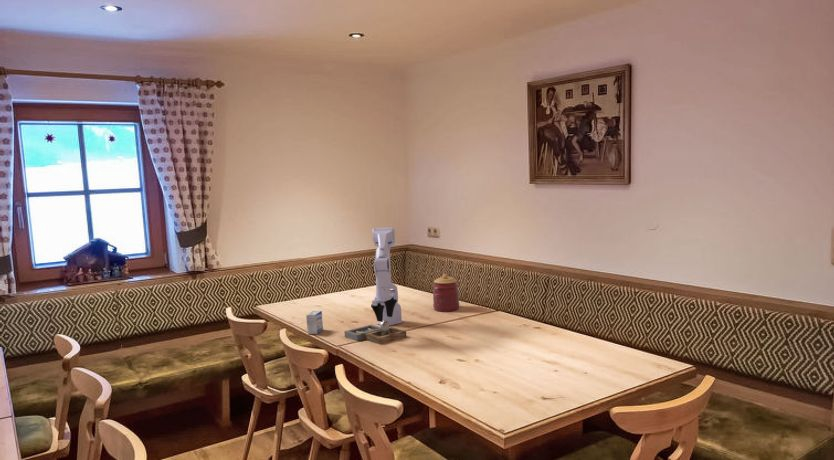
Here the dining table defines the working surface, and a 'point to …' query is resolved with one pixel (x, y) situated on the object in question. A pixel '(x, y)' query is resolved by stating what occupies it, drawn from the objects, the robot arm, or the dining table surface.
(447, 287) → the canister
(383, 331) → the cell
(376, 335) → the shallow wooden tray
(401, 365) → the dining table surface
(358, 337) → the grey tray with pegs
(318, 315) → the medicine box
